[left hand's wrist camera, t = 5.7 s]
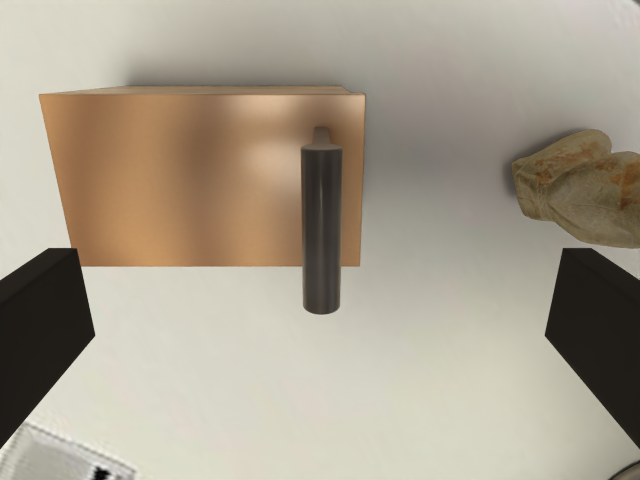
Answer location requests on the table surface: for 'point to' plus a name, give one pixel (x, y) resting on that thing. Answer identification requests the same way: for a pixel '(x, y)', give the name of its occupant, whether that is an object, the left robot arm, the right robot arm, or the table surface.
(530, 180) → the sculpture
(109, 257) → the lid
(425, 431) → the table surface
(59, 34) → the table surface
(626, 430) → the left robot arm
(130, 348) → the table surface
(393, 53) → the table surface
